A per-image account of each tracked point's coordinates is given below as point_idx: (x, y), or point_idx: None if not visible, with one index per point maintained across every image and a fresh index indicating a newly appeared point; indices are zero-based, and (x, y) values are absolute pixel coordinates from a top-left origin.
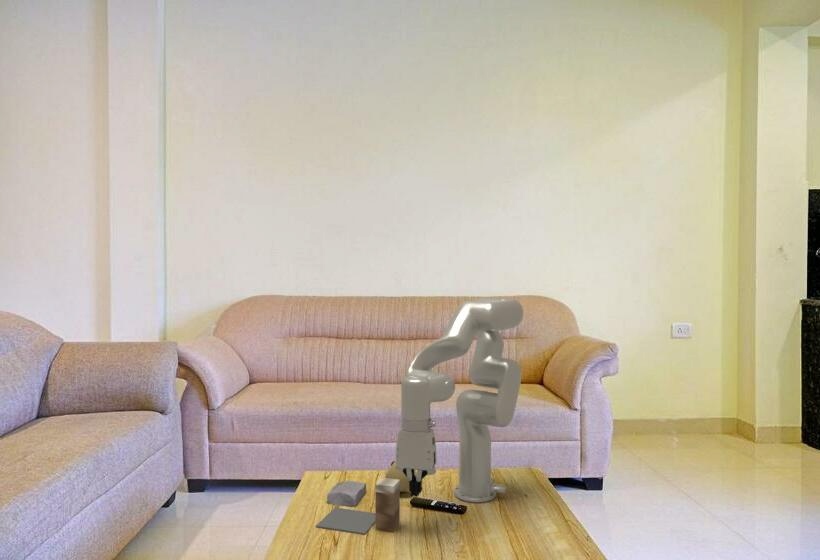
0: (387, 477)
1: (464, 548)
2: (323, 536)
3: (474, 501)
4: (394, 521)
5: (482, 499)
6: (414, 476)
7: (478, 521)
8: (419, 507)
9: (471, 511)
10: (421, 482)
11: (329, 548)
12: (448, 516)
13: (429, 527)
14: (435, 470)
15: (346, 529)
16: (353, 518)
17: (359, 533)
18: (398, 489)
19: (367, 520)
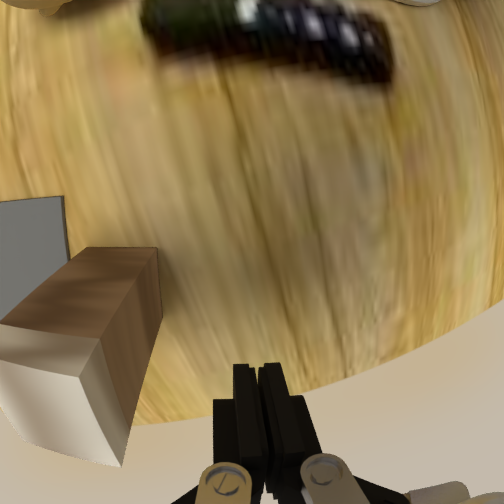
0: (5, 2)
1: (403, 335)
2: None
3: (405, 2)
4: (155, 327)
5: (430, 3)
6: (258, 497)
7: (442, 147)
8: (194, 59)
9: (411, 66)
10: (315, 447)
11: None
12: (344, 118)
13: (287, 239)
14: (461, 501)
15: None
16: (8, 267)
17: None
18: (108, 358)
19: (45, 268)
